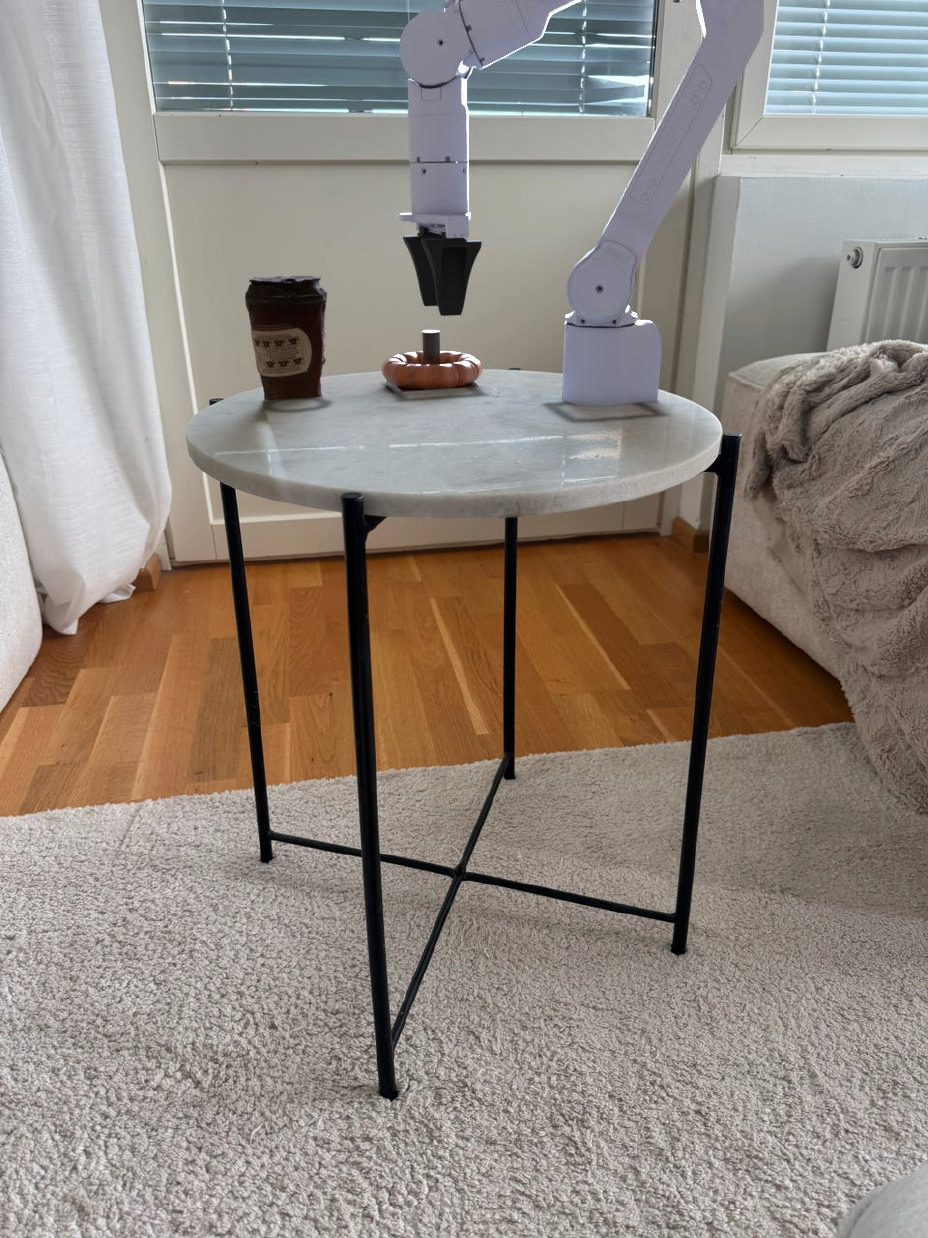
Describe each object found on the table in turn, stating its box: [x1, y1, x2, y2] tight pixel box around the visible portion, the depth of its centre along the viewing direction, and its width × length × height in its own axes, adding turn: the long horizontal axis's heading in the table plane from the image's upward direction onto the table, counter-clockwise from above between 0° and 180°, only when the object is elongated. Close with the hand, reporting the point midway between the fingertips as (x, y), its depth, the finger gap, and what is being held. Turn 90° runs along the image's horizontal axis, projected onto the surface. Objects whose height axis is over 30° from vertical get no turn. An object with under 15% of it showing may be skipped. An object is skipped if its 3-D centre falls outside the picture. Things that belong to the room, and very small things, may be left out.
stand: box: [385, 329, 481, 393], centre depth 104 cm, size 9×9×6 cm
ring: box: [381, 350, 483, 390], centre depth 104 cm, size 11×11×3 cm
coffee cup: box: [244, 275, 328, 402], centre depth 96 cm, size 9×8×13 cm
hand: (442, 310), depth 94 cm, fingers open, 7 cm apart
